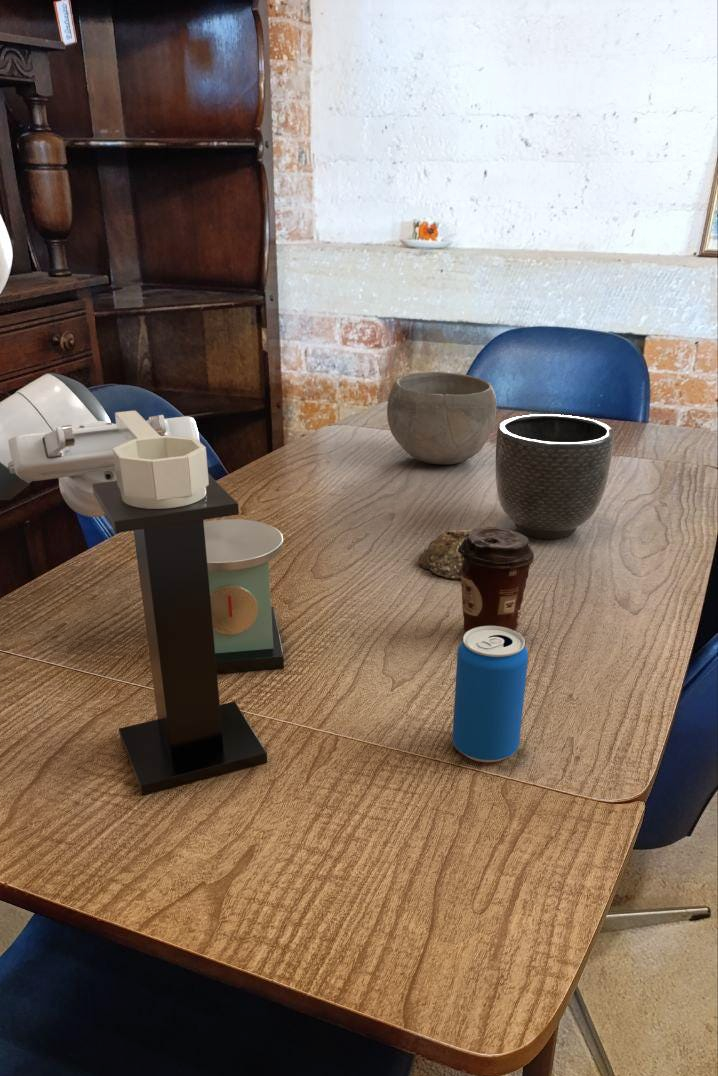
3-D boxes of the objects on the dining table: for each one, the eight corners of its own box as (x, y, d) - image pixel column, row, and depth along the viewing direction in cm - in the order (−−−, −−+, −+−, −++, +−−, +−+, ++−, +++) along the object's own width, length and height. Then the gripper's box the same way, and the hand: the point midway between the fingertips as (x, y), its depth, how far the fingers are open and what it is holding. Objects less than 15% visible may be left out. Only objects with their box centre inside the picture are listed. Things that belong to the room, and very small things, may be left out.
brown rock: (515, 553, 129) (518, 522, 127) (500, 587, 119) (503, 553, 116) (430, 543, 133) (431, 512, 130) (409, 575, 122) (410, 542, 120)
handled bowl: (93, 457, 83) (87, 415, 81) (166, 448, 85) (162, 407, 83) (131, 514, 69) (124, 464, 67) (217, 501, 72) (213, 453, 70)
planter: (472, 516, 143) (478, 418, 135) (566, 505, 147) (577, 410, 140) (520, 556, 128) (530, 448, 121) (623, 542, 133) (639, 438, 125)
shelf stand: (119, 735, 88) (80, 485, 75) (234, 708, 92) (215, 468, 80) (142, 795, 79) (102, 525, 67) (267, 762, 84) (252, 503, 71)
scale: (177, 624, 109) (166, 522, 103) (282, 617, 111) (277, 516, 104) (176, 677, 98) (164, 566, 91) (292, 667, 100) (288, 558, 93)
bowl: (510, 470, 165) (516, 389, 158) (404, 479, 160) (407, 396, 153) (469, 440, 183) (473, 366, 175) (373, 448, 178) (373, 372, 171)
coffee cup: (457, 653, 103) (463, 550, 96) (448, 621, 110) (453, 523, 104) (531, 652, 103) (542, 549, 97) (517, 620, 110) (527, 522, 104)
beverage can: (532, 753, 85) (544, 645, 79) (480, 775, 82) (488, 664, 76) (489, 722, 90) (498, 617, 84) (438, 741, 87) (444, 634, 81)
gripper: (2, 446, 99) (-1, 408, 86) (179, 425, 107) (201, 388, 94) (14, 500, 99) (13, 471, 87) (190, 476, 107) (214, 445, 94)
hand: (113, 427), depth 90 cm, fingers open, 8 cm apart
